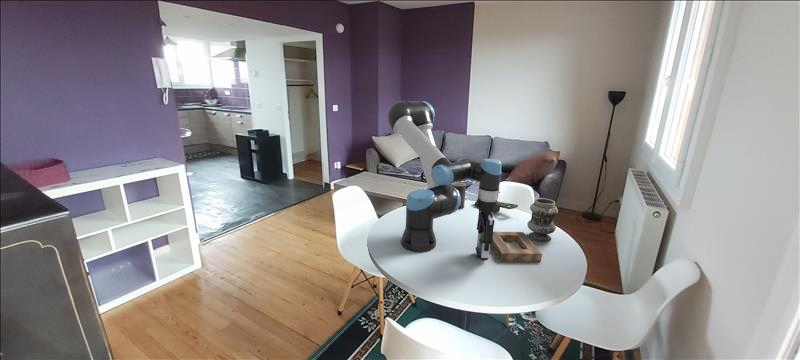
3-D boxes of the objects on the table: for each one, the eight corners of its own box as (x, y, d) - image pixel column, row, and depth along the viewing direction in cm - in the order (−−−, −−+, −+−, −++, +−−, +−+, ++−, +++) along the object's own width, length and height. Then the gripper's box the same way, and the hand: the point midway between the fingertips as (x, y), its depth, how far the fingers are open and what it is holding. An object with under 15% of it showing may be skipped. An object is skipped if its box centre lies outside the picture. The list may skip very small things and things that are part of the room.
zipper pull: (509, 208, 171) (473, 194, 190) (508, 219, 173) (472, 205, 192) (520, 204, 176) (483, 192, 195) (518, 216, 178) (482, 202, 197)
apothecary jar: (539, 230, 161) (545, 195, 156) (559, 240, 150) (566, 203, 145) (520, 233, 156) (525, 198, 151) (539, 245, 146) (545, 206, 141)
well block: (501, 261, 131) (502, 253, 130) (487, 238, 151) (488, 231, 150) (540, 261, 132) (542, 253, 131) (522, 239, 151) (523, 232, 150)
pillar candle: (458, 210, 183) (460, 185, 179) (443, 206, 189) (445, 181, 185) (467, 206, 190) (469, 181, 186) (453, 202, 196) (455, 178, 192)
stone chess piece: (482, 262, 130) (485, 234, 127) (471, 256, 135) (474, 229, 131) (492, 258, 134) (495, 231, 130) (481, 252, 138) (483, 225, 135)
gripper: (505, 208, 118) (498, 265, 124) (490, 191, 137) (485, 242, 143) (485, 208, 118) (479, 265, 124) (472, 191, 136) (467, 241, 143)
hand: (482, 252), depth 134 cm, fingers open, 6 cm apart
